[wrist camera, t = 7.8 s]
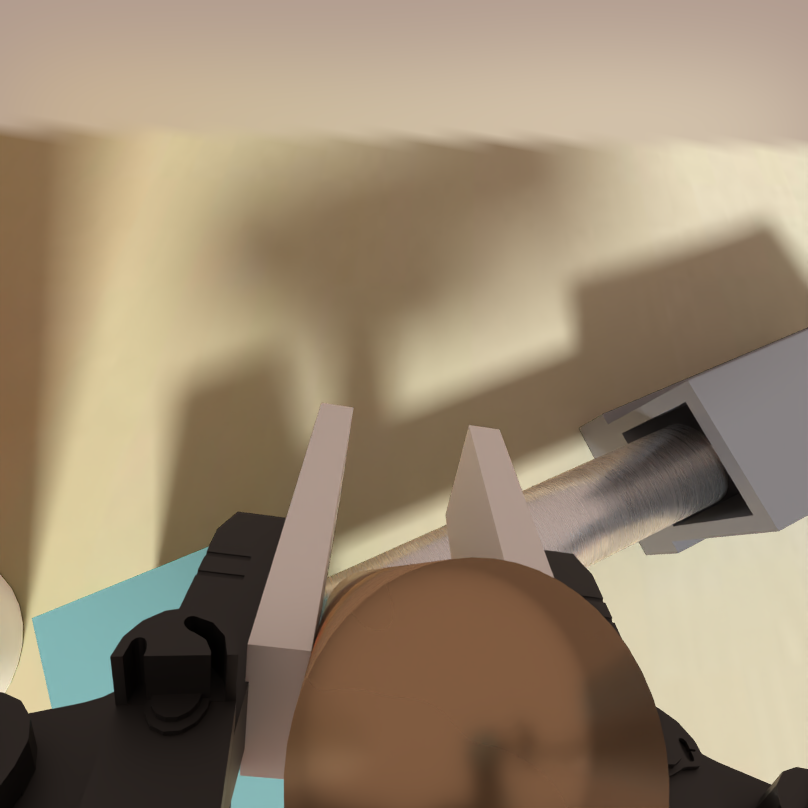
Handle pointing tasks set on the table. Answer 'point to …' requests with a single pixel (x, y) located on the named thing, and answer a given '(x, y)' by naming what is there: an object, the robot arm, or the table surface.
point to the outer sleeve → (731, 440)
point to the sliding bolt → (496, 659)
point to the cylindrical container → (9, 634)
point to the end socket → (99, 636)
